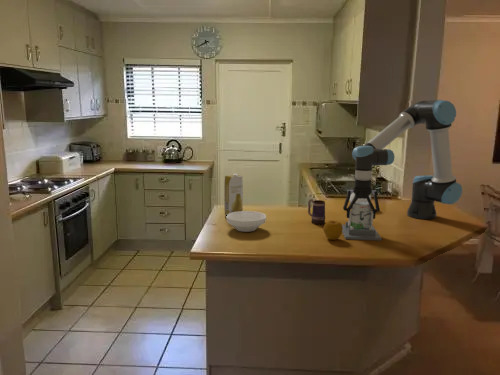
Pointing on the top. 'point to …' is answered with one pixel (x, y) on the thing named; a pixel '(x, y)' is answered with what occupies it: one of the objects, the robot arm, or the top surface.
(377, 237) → the tray
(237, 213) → the bowl
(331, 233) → the apple
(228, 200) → the juice carton
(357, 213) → the ink box
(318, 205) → the mug
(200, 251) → the top surface
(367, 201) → the cup
